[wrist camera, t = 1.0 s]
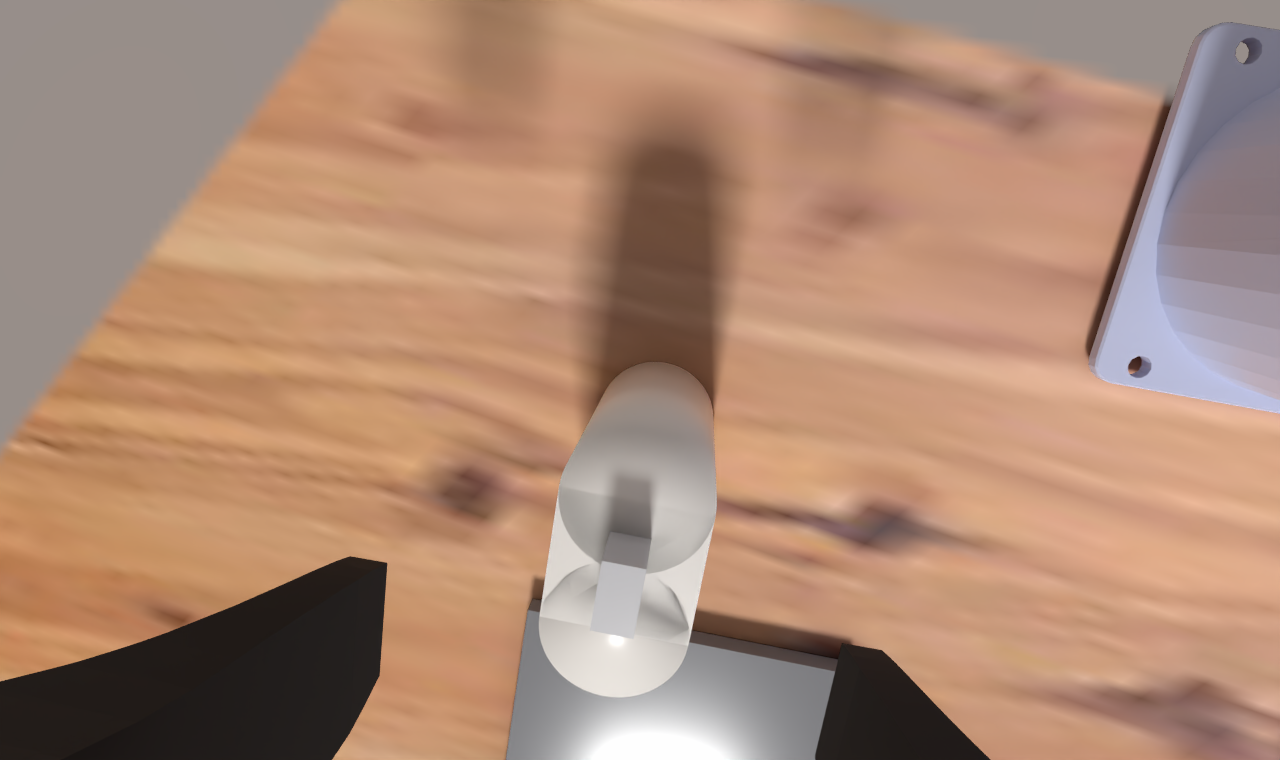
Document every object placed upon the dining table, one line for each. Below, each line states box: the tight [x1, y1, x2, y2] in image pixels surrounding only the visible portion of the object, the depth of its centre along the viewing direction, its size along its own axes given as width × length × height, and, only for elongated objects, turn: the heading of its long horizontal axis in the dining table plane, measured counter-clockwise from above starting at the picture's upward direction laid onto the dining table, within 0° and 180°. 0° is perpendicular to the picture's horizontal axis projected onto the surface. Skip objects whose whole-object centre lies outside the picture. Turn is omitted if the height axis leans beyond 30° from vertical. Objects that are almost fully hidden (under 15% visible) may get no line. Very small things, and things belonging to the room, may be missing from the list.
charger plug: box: [539, 362, 717, 697], centre depth 16 cm, size 3×6×7 cm, turn 170°
